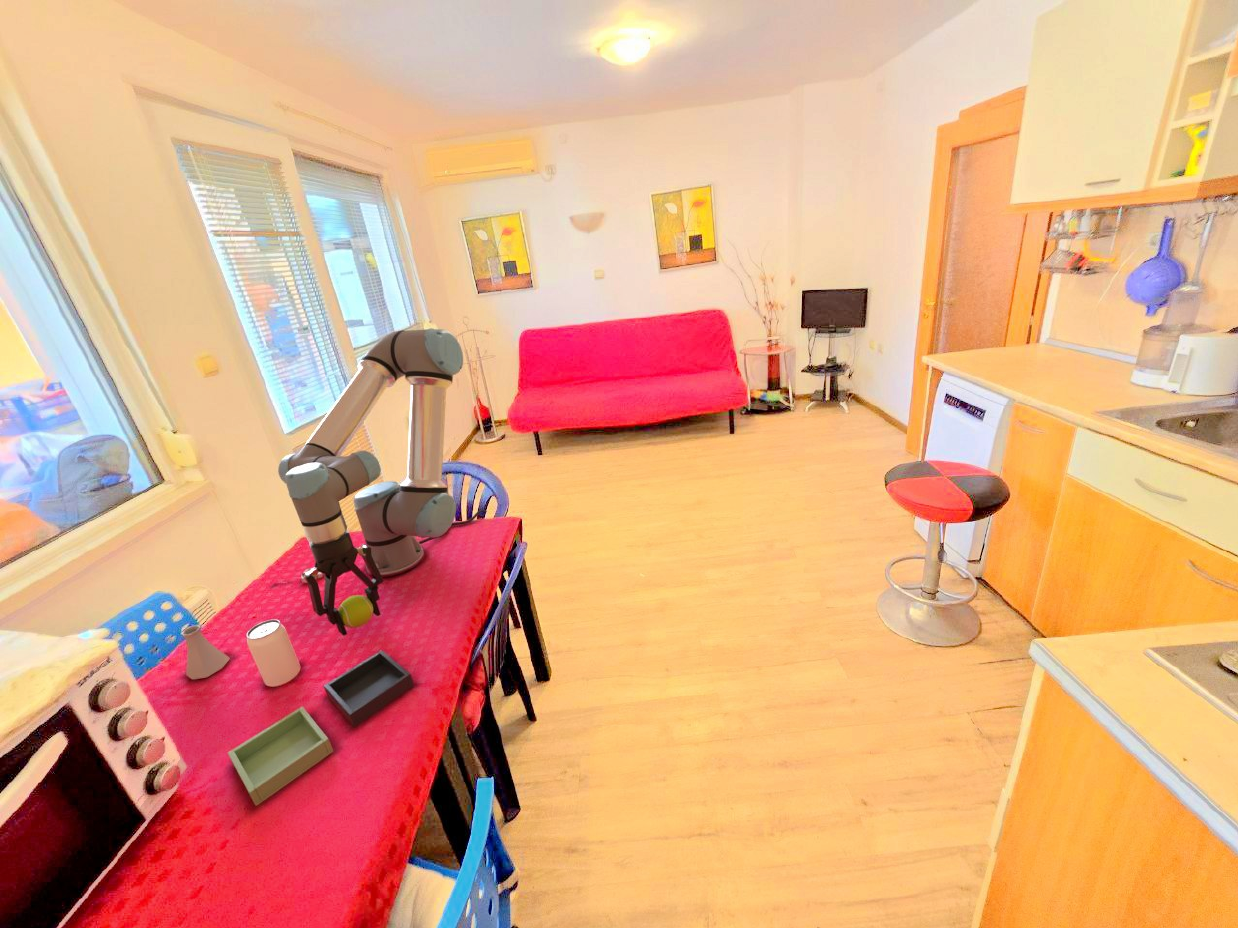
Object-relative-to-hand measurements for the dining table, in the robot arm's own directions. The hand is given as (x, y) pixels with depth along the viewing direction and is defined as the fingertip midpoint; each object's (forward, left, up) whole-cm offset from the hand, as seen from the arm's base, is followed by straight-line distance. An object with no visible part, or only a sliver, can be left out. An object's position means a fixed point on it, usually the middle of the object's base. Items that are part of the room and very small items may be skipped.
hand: (360, 622), depth 114 cm
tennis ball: (0, 0, 0) cm, 1 cm away
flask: (+26, -17, -2) cm, 31 cm away
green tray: (+24, +22, -2) cm, 32 cm away
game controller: (+1, -37, -2) cm, 37 cm away
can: (+17, 0, -2) cm, 17 cm away
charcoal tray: (+8, +20, -2) cm, 22 cm away
